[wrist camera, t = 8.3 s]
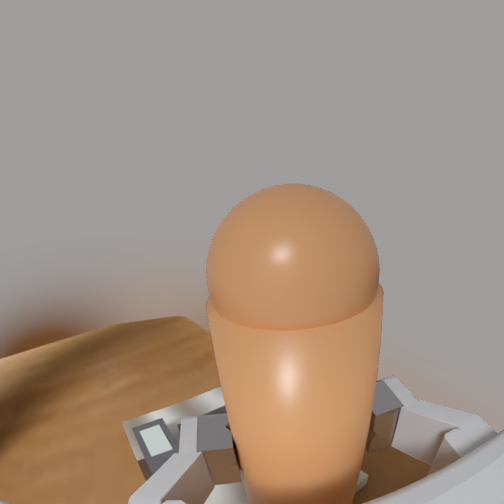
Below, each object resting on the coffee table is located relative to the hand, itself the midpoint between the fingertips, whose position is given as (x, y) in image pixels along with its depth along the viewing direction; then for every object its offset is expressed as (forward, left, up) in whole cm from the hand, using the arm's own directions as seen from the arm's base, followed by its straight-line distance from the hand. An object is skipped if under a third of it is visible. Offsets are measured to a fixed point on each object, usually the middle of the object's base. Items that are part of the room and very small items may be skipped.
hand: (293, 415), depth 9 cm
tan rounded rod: (0, -1, -8) cm, 8 cm away
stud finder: (-4, +14, -15) cm, 21 cm away
